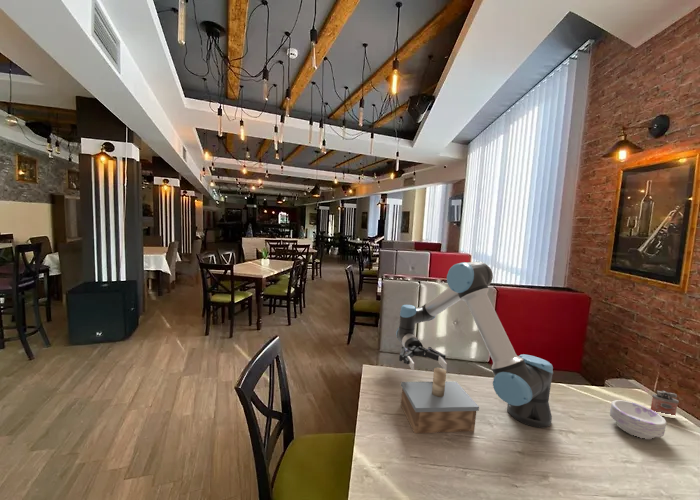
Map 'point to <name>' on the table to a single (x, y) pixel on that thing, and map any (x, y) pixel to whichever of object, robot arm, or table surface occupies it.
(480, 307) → the robot arm
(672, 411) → the lighter
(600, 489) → the table surface
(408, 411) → the brown wooden open box
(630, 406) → the paper bowls
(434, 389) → the lid
